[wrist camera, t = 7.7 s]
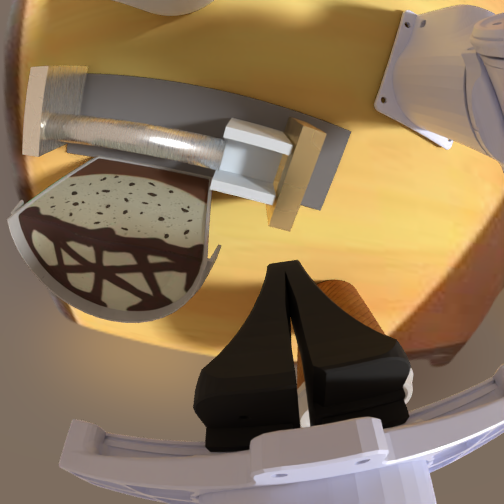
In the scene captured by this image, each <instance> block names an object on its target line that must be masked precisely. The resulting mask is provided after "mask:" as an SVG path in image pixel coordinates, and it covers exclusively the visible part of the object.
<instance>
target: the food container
mask: <svg viewBox="0 0 504 504" xmlns="http://www.w3.org/2000/svg"><path fill="white" fill-rule="evenodd" d="M212 179H213V177H209V176H205V175H200V174H196V173H191V172H187V171H182V170H177V169H172V168H167V167H162V166H157V165H152V164H146V163H141V162H135V161H130V160H124V159H118V158H112V157H106V156H100V155H98V156H96V157H94V158H93V159H91V160H89V161H88V162H86V163H84V164H83V165H81V166H80V167H78V168H76V169H75V170H73V171H72V172H70V173H69V174H67V175H65V176H64V177H62V178H61V179H59V180H58V181H56V182H55V183H54V184H52V185H51V186H49V187H48V188H46V189H45V190H44V191H42V192H41V193H39V194H38V195H37V196H35V197H34V198H33V199H31V200H30V201H29V202H27V203H26V204H25V205H24V202H23V200H21V201H20V202H19V203H18V204H17V205H16V207H15V208H14V209H13V210H12V212H11V216H10V217H9V218H8V219H7V222H8V226H9V230H10V233H11V236H12V238H13V241H14V243H15V245H16V247H17V249H18V251H19V253H20V255H21V256H22V258H23V260H24V261H25V263H26V264H27V266H28V267H29V268H30V270H31V271H32V272H33V273H34V275H35V276H36V277H37V278H38V279H39V280H40V281H41V282H42V283H43V284H44V285H45V286H46V287H47V288H48V289H49V290H50V291H51V292H53V293H54V294H55V295H56V296H58V297H59V298H60V299H62V300H63V301H65V302H66V303H68V304H70V305H71V306H73V307H75V308H77V309H79V310H81V311H83V312H85V313H87V314H90V315H93V316H95V317H98V318H102V319H106V320H110V321H116V322H124V323H140V322H148V321H153V320H156V319H160V318H163V317H165V316H167V315H169V314H172V313H174V312H175V311H177V310H178V309H179V308H181V307H182V306H183V305H185V304H186V303H187V301H188V300H189V299H191V298H192V297H193V296H194V294H195V293H196V292H197V291H198V290H199V289H200V288H201V286H202V284H203V283H204V281H205V279H206V278H207V276H208V274H209V272H210V270H211V268H212V267H213V265H214V263H215V261H216V259H217V256H218V254H219V251H220V248H221V245H218V246H217V248H216V249H215V251H214V253H213V255H212V256H211V258H210V259H208V258H207V257H208V239H209V223H210V209H211V195H212V190H210V186H211V182H212Z"/></svg>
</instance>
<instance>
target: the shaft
mask: <svg viewBox="0 0 504 504" xmlns="http://www.w3.org/2000/svg"><path fill="white" fill-rule="evenodd" d="M88 67H89V66H38V67H31V70H30V75H29V81H28V88H27V95H26V104H25V114H24V126H23V149H22V155H29V156H36V157H39V156H41V155H43V154H46V153H48V152H50V151H52V150H54V149H56V148H58V147H61V146H63V145H65V144H67V143H78V144H85V145H91V146H98V147H104V148H110V149H116V150H122V151H128V152H133V153H139V154H144V155H149V156H154V157H159V158H164V159H169V160H174V161H178V162H183V163H188V164H192V165H196V166H201V167H205V168H209V169H213V170H218V171H219V169H220V166H221V163H222V159H223V155H224V152H225V148H226V144H227V140H224V139H220V138H216V137H211V136H207V135H202V134H198V133H193V132H189V131H184V130H179V129H174V128H168V127H163V126H157V125H152V124H146V123H139V122H133V121H126V120H119V119H112V118H103V117H95V116H85V115H80V111H81V104H82V98H83V92H84V86H85V81H86V76H87V71H88Z"/></svg>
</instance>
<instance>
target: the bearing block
mask: <svg viewBox="0 0 504 504" xmlns="http://www.w3.org/2000/svg"><path fill="white" fill-rule="evenodd" d="M223 137H224V140H227V144H226V148H225V152H224V155H223V159H222V163H221V166H220V169H219V171H218V170H216V171H215V173H214V176H213V179H212V182H211V186H210V190H214V191H219V192H223V193H227V194H231V195H235V196H239V197H242V198H246V199H250V200H254V201H258V202H262V203H265V204H269V205H273V203H274V200H275V197H276V194H275V190H274V185H273V182H274V179H275V176H276V173H277V170H278V167H279V164H280V161H281V158H282V155H283V154H286V155H289V156H290V154H291V151H292V148H293V144H292V143H291V142H290V140H289V139H288V138H287V137H286V135H285V134H284V133H283V132H282V131H279V130H276V129H272V128H269V127H265V126H262V125H258V124H255V123H251V122H247V121H243V120H239V119H236V118H231V120H230V121H229V123H228V124H227V126H226V128H225V132H224V136H223Z"/></svg>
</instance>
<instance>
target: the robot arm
mask: <svg viewBox="0 0 504 504" xmlns="http://www.w3.org/2000/svg"><path fill="white" fill-rule="evenodd" d="M405 23H406V24H407V25H408V28H407V27H406V26H405ZM382 97H384V99H385V102H384V103H382V102H381V98H382ZM374 107H375V109H376V110H377V111H378V112H380V113H382V114H384V115H386V116H388V117H390V118H392V119H394V120H396V121H398V122H400V123H401V124H403V125H405V126H407V127H409V128H411V129H412V130H414V131H416V132H418V133H419V134H421V135H423V136H425V137H426V138H428V139H430V140H431V141H433V142H435V143H436V144H438V145H439V146H441V147H443V148H444V149H447V150H448V149H450V148H451V146H452V143H453V141H455V142H458V143H460V144H462V145H465V146H467V147H469V148H472V149H474V150H476V151H478V152H480V153H483V154H485V155H487V156H489V157H491V158H493V159H495V160H496V161H498V162H499V164H500V165H501V167H502V170H503V173H504V13H500V14H494V13H492V12H490V11H488V10H485V9H483V8H480V7H476V6H471V5H456V6H451V7H447V8H443V9H439V10H435V11H431V12H427V13H424V14H420V15H417V14H415V13H413V12H412V11H410V10H406V11H404V12H403V14H402V17H401V21H400V24H399V28H398V31H397V35H396V38H395V41H394V45H393V48H392V51H391V55H390V58H389V61H388V64H387V67H386V70H385V73H384V76H383V79H382V82H381V85H380V88H379V91H378V94H377V97H376V100H375V103H374ZM448 139H449V140H448ZM290 317H291V319H290ZM291 321H292V324H293V328H294V332H295V336H296V340H297V344H298V348H299V352H300V355H301V360H302V366H303V373H304V380H305V387H306V395H307V403H308V411H309V420H310V427H304V428H300V417H299V405H298V393H297V383H296V376H295V368H294V361H293V355H292V348H291ZM410 369H411V366H410V362H409V360H408V357H407V355H406V353H405V352H404V350H403V348H402V347H401V345H400V344H399V342H398V341H397V340H396V339H394V338H391V337H389V336H387V335H384V334H382V333H380V332H377V331H375V330H373V329H372V328H370V327H368V326H366V325H364V324H363V323H361V322H360V321H358V320H356V319H355V318H353V317H352V316H350V315H349V314H348V313H346V312H345V311H344V310H342V309H341V308H340V307H339V306H338V305H336V304H335V303H334V302H333V301H332V300H331V299H330V298H329V297H328V296H327V295H326V294H325V293H324V292H323V291H322V290H321V289H320V288H319V287H318V286H317V285H316V283H315V282H314V281H313V280H312V279H311V277H310V276H309V275H308V274H307V272H306V271H305V269H304V268H303V266H302V265H301V263H300V262H299V261H298V260H293V261H286V262H279V263H272V264H269V265H268V266H267V273H266V277H265V280H264V283H263V286H262V289H261V291H260V294H259V296H258V299H257V301H256V303H255V305H254V307H253V309H252V311H251V313H250V314H249V316H248V318H247V319H246V321H245V323H244V324H243V326H242V327H241V328H240V330H239V331H238V333H237V334H236V335H235V337H234V338H233V339H232V340H231V341H230V343H229V344H228V345H227V346H226V347H225V348H224V349H223V350H222V351H221V353H220V354H219V355H218V356H216V357H215V358H214V359H213V360H212V361H211V362H210V363H209V364H208V365H207V366H206V367H204V368H203V369H202V370H201V373H200V376H199V378H198V382H197V385H196V389H195V397H194V405H193V408H194V410H195V413H196V414H197V416H198V417H199V418H200V420H201V421H202V422H203V423H204V425H205V426H206V427H207V428H206V440H205V442H195V441H174V440H161V439H150V438H141V437H133V436H126V435H119V434H113V433H107V432H105V431H104V430H103V429H102V428H101V427H100V426H98V425H96V424H94V423H91V422H86V421H82V420H76V419H73V420H72V422H71V425H70V428H69V431H68V435H67V438H66V441H65V444H64V448H63V451H62V455H61V458H60V462H59V467H60V468H62V469H64V470H66V471H67V472H69V473H71V474H73V475H75V476H77V477H79V478H81V479H83V480H85V481H87V482H89V483H91V484H93V485H95V486H99V487H102V488H106V489H109V490H113V491H116V492H120V493H123V494H127V495H131V496H135V497H139V498H144V499H148V500H153V501H158V502H163V503H168V504H437V503H436V499H435V494H434V490H433V486H432V481H431V478H430V472H433V471H435V470H437V469H439V468H441V467H443V466H446V465H448V464H450V463H451V462H453V461H455V460H457V459H459V458H461V457H463V456H465V455H467V454H469V453H470V452H472V451H474V450H475V449H477V448H479V447H481V446H482V445H484V444H486V443H487V442H489V441H491V440H492V439H494V438H495V437H497V436H499V435H500V434H502V433H503V432H504V364H502V365H501V366H500V367H499V368H498V369H497V370H496V372H495V374H494V376H493V377H491V378H489V379H487V380H485V381H483V382H481V383H479V384H477V385H475V386H473V387H471V388H468V389H466V390H464V391H462V392H459V393H457V394H455V395H453V396H450V397H447V398H445V399H442V400H440V401H437V402H435V403H432V404H429V405H426V406H424V407H421V408H418V409H415V410H412V411H409V412H408V410H407V407H406V404H405V401H404V399H405V397H406V395H405V392H404V389H403V386H404V384H405V382H406V379H407V377H408V375H409V373H410Z"/></svg>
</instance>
